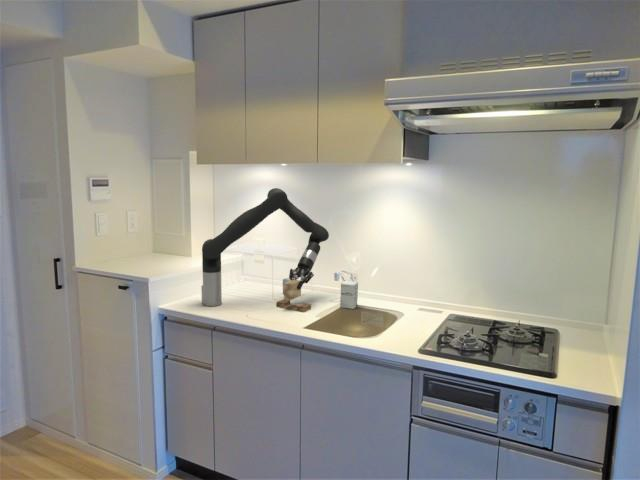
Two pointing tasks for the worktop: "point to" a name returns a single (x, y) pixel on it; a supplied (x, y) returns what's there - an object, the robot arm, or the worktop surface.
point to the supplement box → (349, 294)
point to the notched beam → (287, 305)
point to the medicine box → (285, 282)
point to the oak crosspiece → (291, 290)
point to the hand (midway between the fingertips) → (294, 287)
